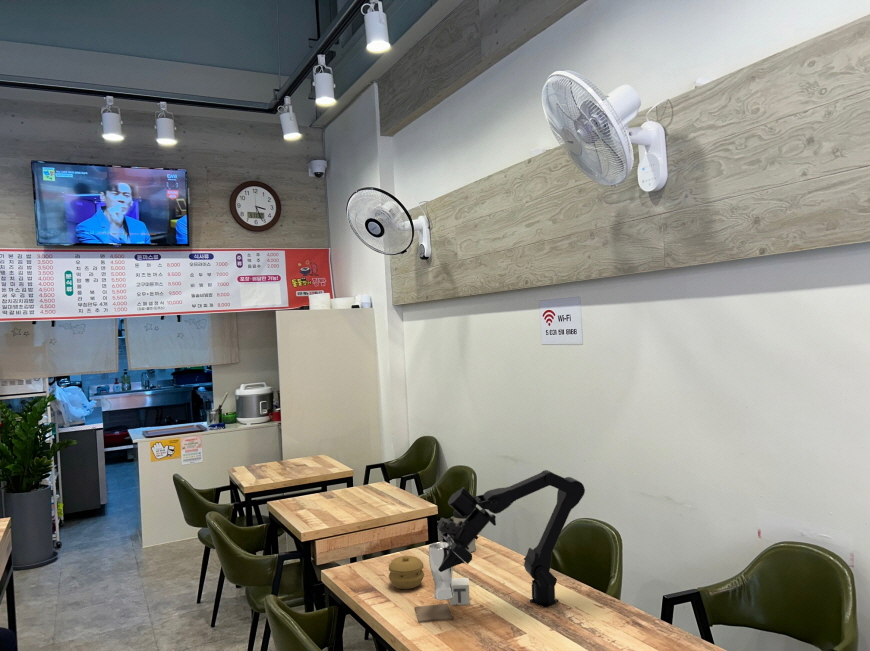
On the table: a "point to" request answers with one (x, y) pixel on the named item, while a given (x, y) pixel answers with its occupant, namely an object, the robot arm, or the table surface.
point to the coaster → (433, 613)
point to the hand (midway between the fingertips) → (437, 566)
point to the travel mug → (461, 518)
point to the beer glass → (441, 578)
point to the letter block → (460, 591)
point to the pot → (406, 572)
